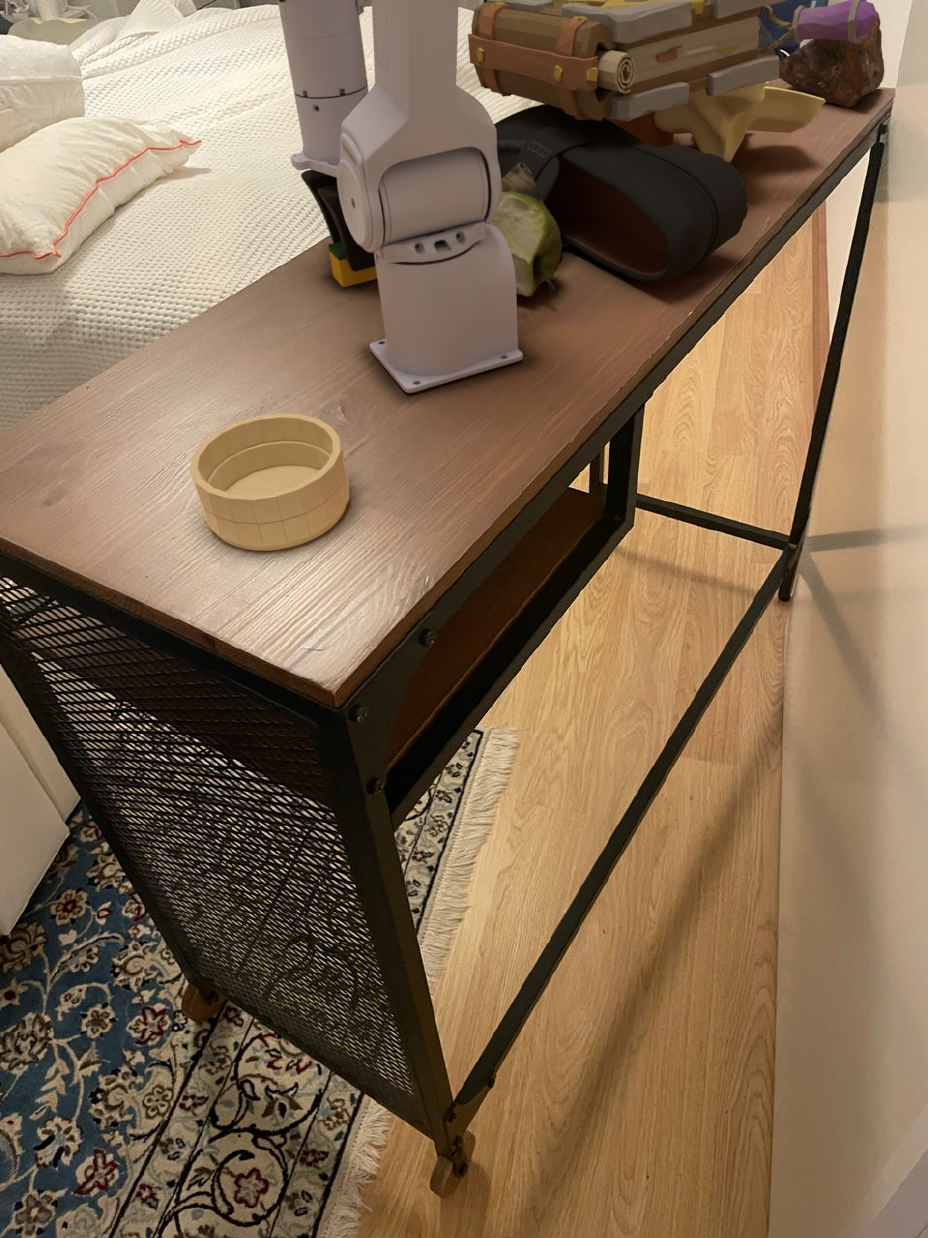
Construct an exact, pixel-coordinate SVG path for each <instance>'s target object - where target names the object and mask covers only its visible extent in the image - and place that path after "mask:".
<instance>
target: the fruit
mask: <svg viewBox="0 0 928 1238" xmlns="http://www.w3.org/2000/svg"><path fill="white" fill-rule="evenodd" d="M501 185H502V190H501V200H500V204H499V206H498V209H497V212H496V215H495V217H494V218H493V220H492V221H491V222H489V223H485V225H486V224H491V225H494V226H496V227H497V228H498V229H499V230H500V231H501V233H502V234H503V236H504V237H505V239H506V241H507V243H508V245H509V248H510V251H511V254H512V258H513V263H514V268H515V275H516V295H521V296H523V297H526V298H527V297H531V296H533V295H534V293H535V292H536V290H537V288H538V287H539V286H540V285H541V284H542V283H543V282H546V283H547V285H548V287H549V290H550V292H551V294H554V293H555V292H556V291H557V290H556V287H555V286H554V285H553V283H552V282H551V280H550V278H552V277H553V276H554V275H555V273H557V271H558V269H559V266H560V261H561V256H562V249H561V236H560V230H559V227H558V225H557V223H556V221H555V219H554V218H553V216H552V215H551V213H550V212H549V210H548V209H547V207H546V206H545V204H544V203H543V201H542V200H541V198H540V195H539V192H538V189H537V186H536V184H535V181H534V178H533V176H532V174H531V172H530V170H529V169H528V168H527V166H526V165H525V164H524V163H523V162H521V163H519V164H518V165H516V166H515V167H514V168H513V169H512V170H511V171H509V172H508V173H507V174H506V175H505V176H504V177H503V178H502V179H501Z"/></svg>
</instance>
